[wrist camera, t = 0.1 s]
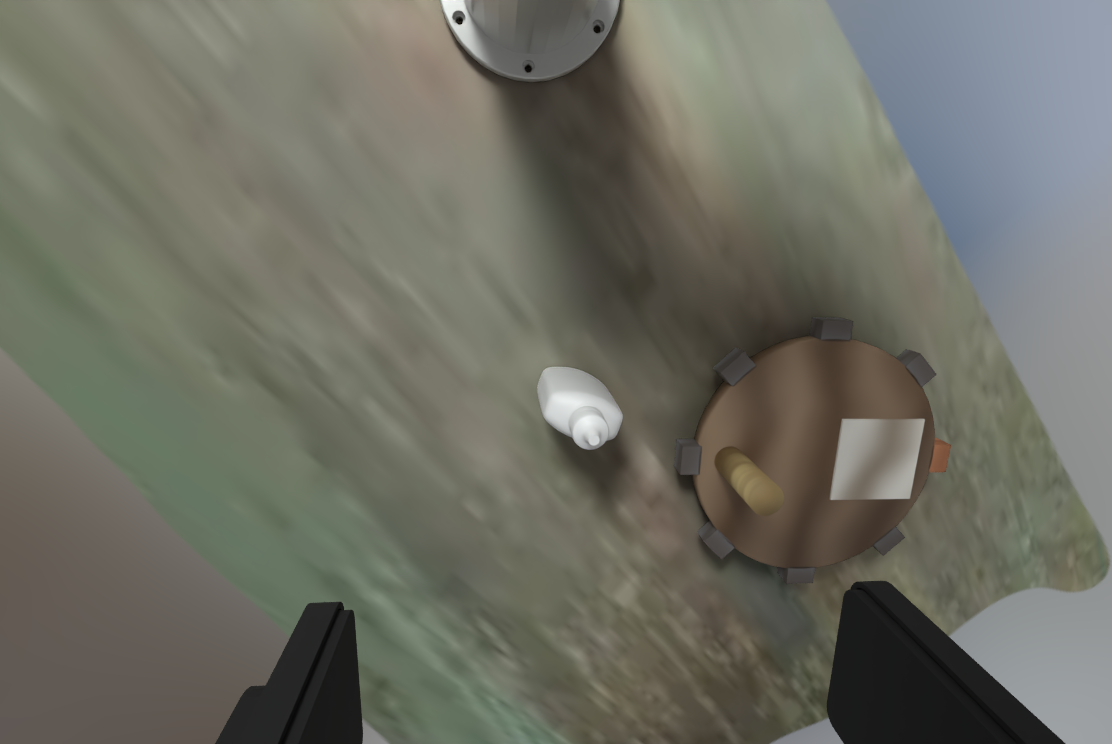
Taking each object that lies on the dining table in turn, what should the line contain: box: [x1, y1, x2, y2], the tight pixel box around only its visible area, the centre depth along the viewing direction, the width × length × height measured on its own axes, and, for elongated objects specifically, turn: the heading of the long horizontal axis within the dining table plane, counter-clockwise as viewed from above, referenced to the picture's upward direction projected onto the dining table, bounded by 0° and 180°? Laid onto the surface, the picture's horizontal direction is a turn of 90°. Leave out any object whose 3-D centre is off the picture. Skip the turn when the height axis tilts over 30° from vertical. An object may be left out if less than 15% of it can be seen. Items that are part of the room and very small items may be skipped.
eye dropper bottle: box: [537, 367, 623, 450], centre depth 42 cm, size 4×6×12 cm
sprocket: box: [674, 317, 951, 584], centre depth 45 cm, size 23×23×9 cm
